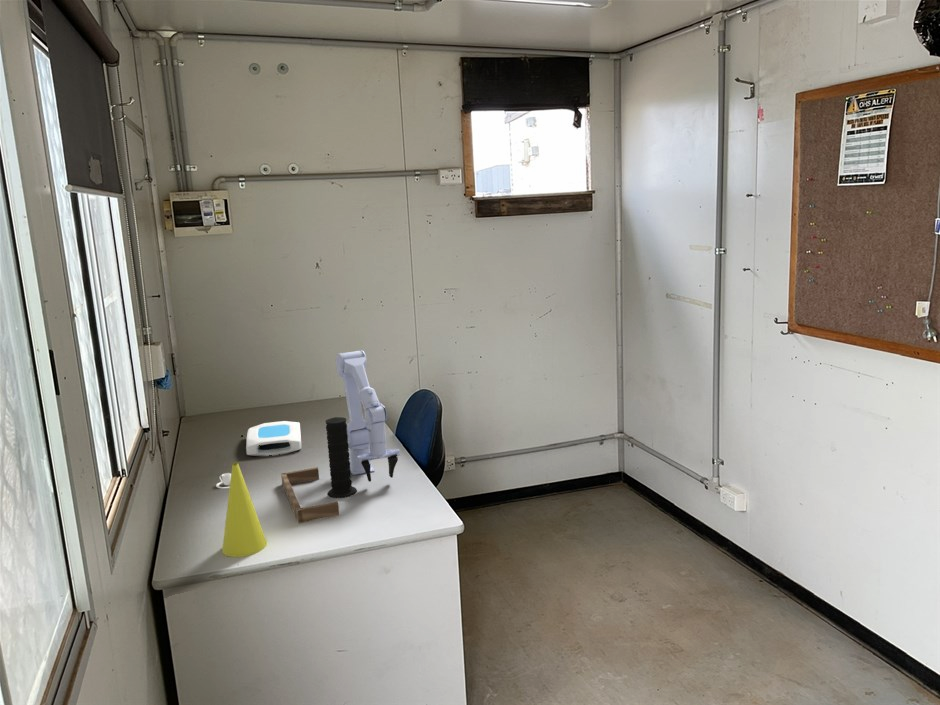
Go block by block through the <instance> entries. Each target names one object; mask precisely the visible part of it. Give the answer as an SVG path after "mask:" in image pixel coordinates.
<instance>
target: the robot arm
mask: <svg viewBox="0 0 940 705" xmlns="http://www.w3.org/2000/svg"><path fill="white" fill-rule="evenodd" d="M367 363H368V361H367V354H366V353H365V351H364V350H363V349H361V350H355V351H354V350H353V351H348V352H338V353H337V355H336V356H335V366H336V367H335V368H336V370H337V371H336V372H337V375H338V377H341V378H342V381H343V386H344V392H345V393H344V394H345V398H346V399H345V400H346V405H347V410H348V418H349V422H348V423H346V424H347V435H348V445H349V447H348V449H349V451H348V452H349V458H350V460H349V461H350V471H351V474H352V475H353V476H355V475H356V476H357V475H361V474H365V475H366V478H367V481H368V483H369V482H370V483H371V482H372V475H371V473H372V472H375V469H374V467H373V465H372V461H374V460H379V459H385V458H387V462H388V476H389V478H394V472H395V467H396V465H397V463H398V461H399V460H398V459H399V458H398V457H400V456H401V453H400V449H399V448H393V449H387V438H386V437H387V436H386V435H387V434H386V423H385V422H387V421H388V412H387V409H386V407H385V405H384V404H383V403H382V402H380V400H379V398H378V396H377V392H376V390H375V388H373V387H371V386H370V383H369V379H368V376H367V371H366V368H367ZM362 407H363V408H362ZM363 410H364V411H363ZM363 412H364V415H363Z"/></svg>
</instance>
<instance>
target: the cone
mask: <svg viewBox="0 0 940 705" xmlns="http://www.w3.org/2000/svg"><path fill="white" fill-rule="evenodd" d="M231 466H232V467H231V472H230V473H231V481H230V485H229V487H230V488H228V489H229V492H228V498H227V499H228V500H227V507H226V515H225V516H226V518H225V523H224V524H225V525H224V533H223V534H224V535H223V541H222V548H221V551H222V554H223V555H225V556H226V557H227V556H228V557H231V558H240V557H248V556H252V555H254V554H257V553H259V552H261V551H262V550H264V549H265V548H266V547H267V546H268V545H267V544H268V542H267V539H266V536H265V534H264V531H263V528H262V525H261V523H260V520H259V517H258V514H257V511H256V509H255V506H254V503H253V500H252V498H251V495H250V492H249V489H248V486H247V484H246V481H245V478H244V476H243V472H242V470H241V468H240V465H239V462H238V461H236V462H234V463H233V464H231Z"/></svg>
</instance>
